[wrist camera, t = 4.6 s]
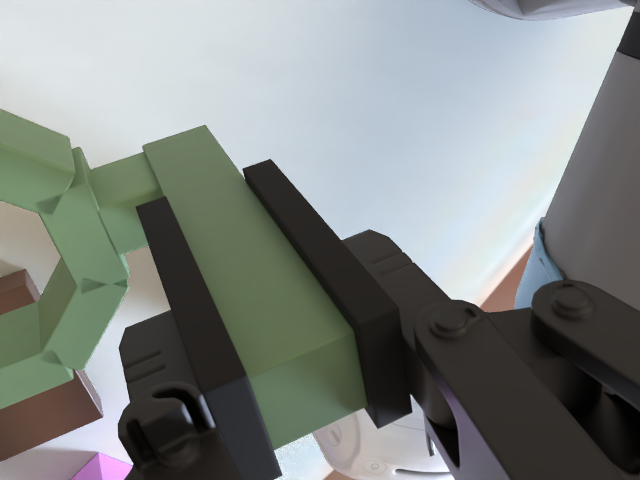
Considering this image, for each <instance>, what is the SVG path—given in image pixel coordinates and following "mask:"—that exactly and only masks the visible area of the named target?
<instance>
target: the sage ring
mask: <svg viewBox="0 0 640 480" xmlns="http://www.w3.org/2000/svg"><path fill="white" fill-rule="evenodd" d="M142 148H143V151H144V152H142V153H139V154H136V155H133V156H130V157H127V158H124V159H121V160H118V161H115V162H112V163H109V164H106V165H103V166H100V167H97V168H94V169H91V170H90V168H89V165H88V163H87V161H86V159H85V156H84V154H83V152H82V150H81V148H80V147H77V148H74V149H71V144H70V139H69V138H68V137H67V136H64V135H62V134H60V133H57V132H55V131H52V130H50V129H48V128H45V127H43V126H40V125H38V124H35V123H33V122H31V121H28V120H26V119H23V118H21V117H18V116H16V115H14V114H11V113H9V112H6V111H4V110H2V109H0V201H3V202H6V203H9V204H12V205H15V206H18V207H21V208H24V209H27V210H30V211H33V212H36V213H38V214H39V216H40V218H41V220H42V222H43V223H44V225H45V227H46V229H47V231H48V233H49V235H50V237H51V239H52V241H53V243H54V244H55V246H56V248H57V250H58V252H59V254H60V256H61V258H60V260H59V262H58V264H57V266H56V268H55V270H54V272H53V274H52V276H51V278H50V280H49V282H48V284H47V286H46V288H45V289H44V291H43V293H42V295H41V297H40V299H39V301H37V302H34V303H32V304H29V305H26V306H24V307H21V308H18V309H16V310H13V311H10V312H8V313H5V314H2V315H0V409H2V408H4V407H7V406H9V405H12V404H14V403H17V402H19V401H22V400H24V399H26V398H29V397H31V396H34V395H36V394H39V393H41V392H44V391H46V390H48V389H51V388H53V387H56V386H58V385H61V384H63V383H66V382H68V381H70V380H72V379H73V369H76V370H84V368H85V366H86V365H87V363H88V361H89V359H90V357H91V356H92V354H93V352H94V350H95V348H96V347H97V345H98V343H99V341H100V339H101V338H102V336H103V334H104V332H105V330H106V329H107V327H108V325H109V323H110V321H111V320H112V318H113V316H114V314H115V312H116V311H117V309H118V307H119V305H120V303H121V302H122V300H123V298H124V296H125V294H126V293H127V291H128V289H129V286H128V282H127V279H126V278H129V277H130V273H129V269H128V266H127V262H126V258H125V255H124V254H126V253H129V252H131V251H134V250H137V249H139V248H142V247H145V246H148V242H147V239H146V236H145V233H144V230H143V228H142V225H141V222H140V219H139V216H138V213H137V210H136V207H135V206H138V205H141V204H144V203H147V202H150V201H152V200H155V199H158V198H161V197H164V196H166V197H167V199H168V201H169V204H170V206H171V208H172V210H173V212H174V215H175V217H176V219H177V221H178V223H179V226H180V228H181V230H182V232H183V234H184V237H185V239H186V241H187V243H188V245H189V248H190V250H191V252H192V254H193V256H194V259H195V261H196V263H197V265H198V268H199V270H200V272H201V274H202V276H203V279H204V281H205V283H206V285H207V287H208V290H209V292H210V294H211V296H212V298H213V301H214V303H215V305H216V307H217V309H218V312H219V314H220V316H221V318H222V320H223V323H224V325H225V327H226V329H227V331H228V334H229V336H230V338H231V340H232V342H233V345H234V347H235V349H236V351H237V354H238V356H239V358H240V360H241V362H242V365H243V367H244V369H245V371H246V373H247V376H248V379H249V382H250V385H251V388H252V390H253V393H254V396H255V399H256V402H257V405H258V407H259V410H260V413H261V416H262V419H263V422H264V424H265V427H266V430H267V433H268V436H269V439H270V442H271V444H272V447H273V450H276V449H278V448H280V447H282V446H284V445H286V444H289V443H291V442H293V441H295V440H297V439H299V438H301V437H303V436H306V435H308V434H310V433H312V432H314V431H316V430H318V429H320V428H323V427H325V426H327V425H329V424H331V423H333V422H335V421H337V420H340V419H342V418H344V417H346V416H348V415H350V414H352V413H354V412H357V411H359V410H361V409H363V408H365V407H367V406H368V401H367V396H366V390H365V385H364V380H363V375H362V370H361V364H360V359H359V354H358V349H357V344H356V339H355V333H354V330H353V329H352V327H351V326H350V324H349V323H348V322H347V320H346V319H345V318H344V316H343V315H342V313H341V312H340V311H339V309H338V308H337V307H336V305H335V304H334V302H333V301H332V300H331V298H330V297H329V295H328V294H327V293H326V291H325V290H324V289H323V287H322V286H321V284H320V283H319V282H318V280H317V279H316V278H315V276H314V275H313V273H312V272H311V271H310V269H309V268H308V266H307V265H306V264H305V262H304V261H303V260H302V258H301V257H300V255H299V254H298V253H297V251H296V250H295V249H294V247H293V246H292V244H291V243H290V242H289V240H288V239H287V238H286V236H285V235H284V233H283V232H282V231H281V229H280V228H279V226H278V225H277V224H276V222H275V221H274V220H273V218H272V217H271V215H270V214H269V213H268V211H267V210H266V209H265V207H264V206H263V204H262V203H261V202H260V200H259V199H258V197H257V196H256V195H255V193H254V192H253V191H252V189H251V188H250V186H249V185H248V184H247V182H246V180H245V179H244V177H243V176H242V175H241V173H240V172H239V170H238V169H237V168H236V166H235V165H234V164H233V162H232V161H231V159H230V158H229V157H228V155H227V154H226V153H225V151H224V150H223V148H222V147H221V146H220V144H219V143H218V142H217V140H216V139H215V137H214V136H213V135H212V133H211V132H210V131H209V129H208V128H207V126H206V125H203V126H200V127H197V128H194V129H191V130H188V131H185V132H182V133H179V134H176V135H173V136H170V137H166V138H163V139H160V140H157V141H154V142H151V143H148V144H145V145H143V146H142Z"/></svg>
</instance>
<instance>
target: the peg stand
mask: <svg viewBox="0 0 640 480" xmlns="http://www.w3.org/2000/svg"><path fill="white" fill-rule="evenodd" d="M40 297H41V295H40V293H39V292H38V290H37V288H36V286H35V285H34V283H33V281H32V279H31V278H30V276H29V274H28V272H27V271H26V270H25V269H24V270H21V271H18V272H16V273H13V274H10V275H7V276H5V277H2V278H0V315H2V314H5V313H8V312H10V311H13V310H16V309H18V308H21V307H24V306H26V305H29V304H32V303H34V302H37V301H39V299H40ZM100 418H103V411H102V405H101V399H100V398H99V396H98V394H97V393H96V391H95V389H94V387H93V386H92V384H91V382H90V380H89V379H88V377H87V375H86V373H85V372H84V370H76V369H73V379H72V380H70V381H68V382H66V383H63V384H61V385H58V386H56V387H53V388H51V389H48V390H46V391H44V392H41V393H39V394H36V395H34V396H31V397H29V398H26V399H24V400H22V401H19V402H17V403H14V404H12V405H9V406H7V407H4V408H2V409H0V462H1V461H3V460H6V459H8V458H10V457H13V456H15V455H17V454H20V453H22V452H24V451H26V450H29V449H31V448H33V447H36V446H38V445H40V444H43V443H45V442H47V441H50V440H52V439H54V438H56V437H59V436H61V435H63V434H66V433H68V432H70V431H73V430H75V429H77V428H80V427H82V426H84V425H86V424H89V423H91V422H93V421H96V420H98V419H100Z"/></svg>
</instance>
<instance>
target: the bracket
mask: <svg viewBox="0 0 640 480" xmlns="http://www.w3.org/2000/svg"><path fill="white" fill-rule="evenodd" d="M131 468H132V466H131V465H129V464H126V463H124V462H121V461H119V460H116V459H114V458H111V457H109V456H106V455H104V454H101V453H99V452H98V453H97V454H96V455H95V456H94V457H93V458H92V459H91V460H90V461H89V462H88V463H87V464H86V465H85V466H84V467H83V468H82V469H81V470H80V471H79V472H78V473H77V474H76V475H75V476H74V477H73V478H72V479H71V480H124V479H125V477H126V476H127V475H128V473H129V472H130V470H131Z"/></svg>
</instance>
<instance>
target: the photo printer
mask: <svg viewBox="0 0 640 480" xmlns="http://www.w3.org/2000/svg"><path fill="white" fill-rule="evenodd" d="M410 396H411V404H412V411H413V413H411V414H408V415H406V416H404V417H402V418H400V419H398V420H396V421H394V422H392V423H390V424H388V425H386V426H384V427H382V428H379V429H377V427H376V426H375V424H374V423H373V421H372V420H371V418H370V417H369V415H368V413H367V412H366V410H365V409H364V408H363V409H361V410H359V411H357V412H354V413H352V414H350V415H348V416H346V417H344V418H342V419H340V420H337V421H335V422H333V423H331V424H329V425H327V426H325V427H323V428H320V429H318V430H316V431H314V432H312V434H313V436H314V438H315V439H316V441H317V443H318V445H319V447H320V449H321V451H322V453H323V455H324V457H325V459H326V460H327V462H328V463H329V464H330V466H331V467H332V468H333V469H335V470H336V471H338V472H340V473H342V474H344V475H347V476H349V477H352V478H355V479H358V480H455V479H454V478H453V476H452V474H451V472H450V471H449V469H448V467H447V465H446V464H445V462H444V460H443V458H442V457H441V455H440V453H439V451H438V450H437V448H436V446H435V444H434V446H435V455H433V456H431V457H430V455H429V451H428V448H427V442H426V434H425V425H424V416H423V410H422V409H421V407H420V406H419V405H418V403H417V402H416V401H415V399H414V398H413V397H412V395H411V394H410Z"/></svg>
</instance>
